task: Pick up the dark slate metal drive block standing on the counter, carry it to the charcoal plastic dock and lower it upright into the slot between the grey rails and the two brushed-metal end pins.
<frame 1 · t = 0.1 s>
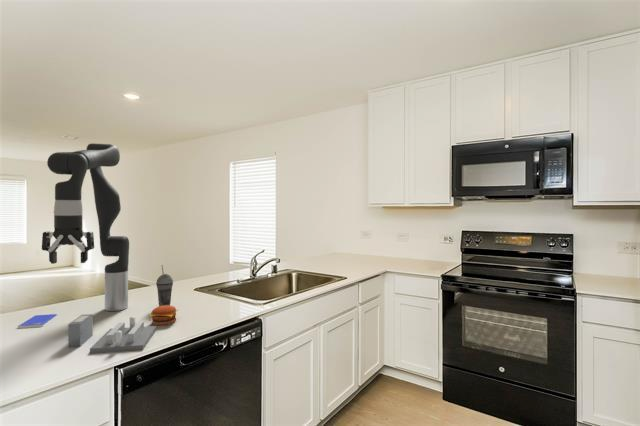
hand: (68, 263, 114), 29 cm above the worktop, fingers open, 8 cm apart
beverage cup: (164, 307, 161), on the worktop
dock: (126, 340, 123), on the worktop
drive: (81, 341, 121), on the worktop
hard drive: (38, 323, 139), on the worktop
hamburger: (164, 322, 142), on the worktop
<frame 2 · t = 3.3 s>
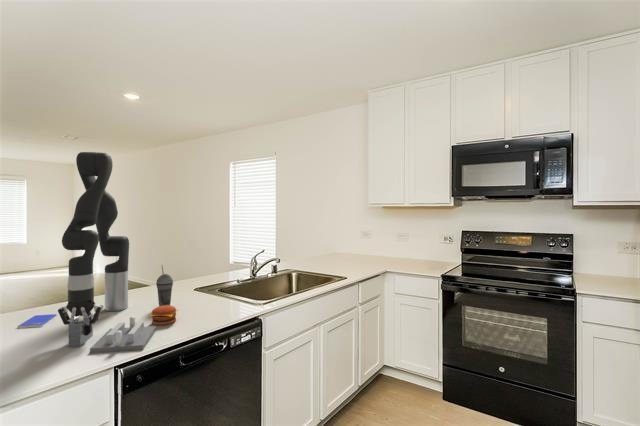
hand: (81, 334, 121), 2 cm above the worktop, fingers closed on drive, 3 cm apart
drive: (81, 341, 121), on the worktop, touching gripper
everything else where it was.
when the fingers open (5 cm above the worktop, at t = 8.2 s): drive drops 1 cm, resting on dock.
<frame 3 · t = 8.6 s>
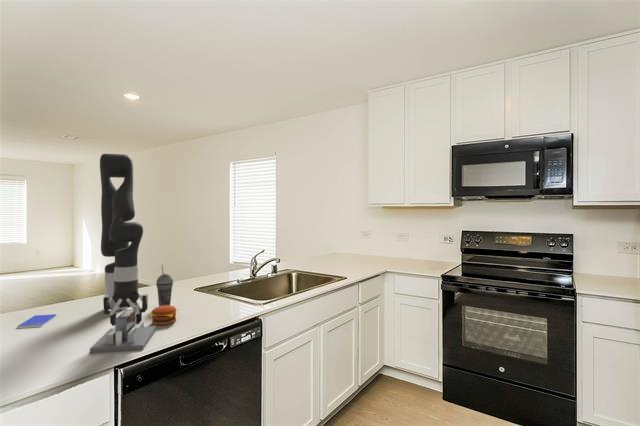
hand: (126, 324, 122), 6 cm above the worktop, fingers open, 7 cm apart
drive: (125, 336, 123), point 1 cm above the worktop, touching dock
everything else where it was.
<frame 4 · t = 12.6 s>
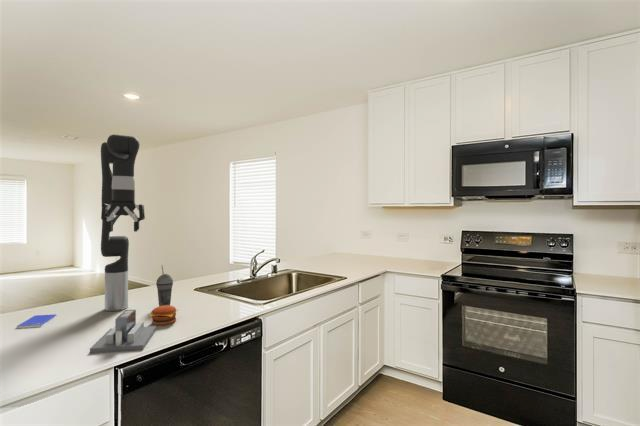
hand: (123, 231, 130), 38 cm above the worktop, fingers open, 8 cm apart
nothing on the worktop moved.
at the end: drive 0.0 cm off-centre on the dock, point 1.5 cm above the dock's base; drive tilted 0°; the gripper is holding nothing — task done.
